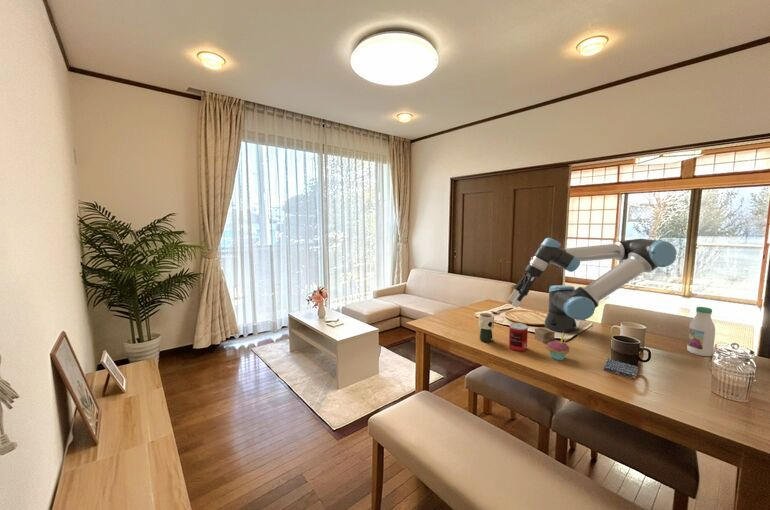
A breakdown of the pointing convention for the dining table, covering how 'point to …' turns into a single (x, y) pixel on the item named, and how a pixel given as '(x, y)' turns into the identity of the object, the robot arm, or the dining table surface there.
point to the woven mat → (620, 368)
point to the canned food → (518, 337)
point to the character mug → (486, 326)
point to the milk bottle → (701, 333)
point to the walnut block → (544, 335)
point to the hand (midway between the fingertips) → (512, 303)
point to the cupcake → (558, 349)
